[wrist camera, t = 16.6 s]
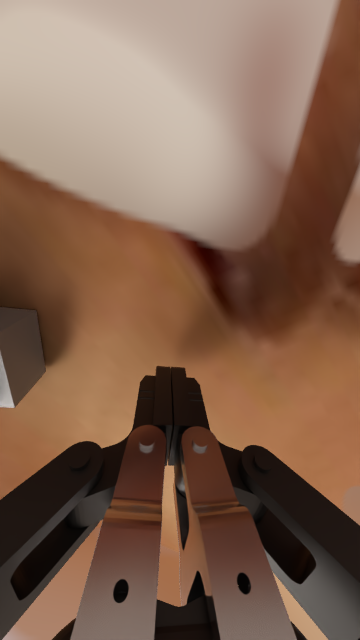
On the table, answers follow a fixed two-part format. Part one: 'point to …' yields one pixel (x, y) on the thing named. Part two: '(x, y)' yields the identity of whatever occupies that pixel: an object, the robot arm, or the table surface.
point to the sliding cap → (19, 354)
